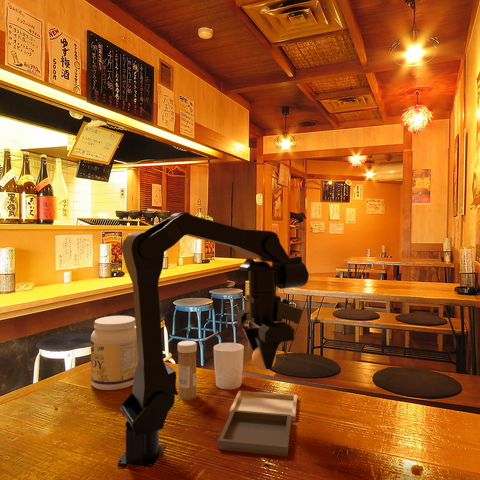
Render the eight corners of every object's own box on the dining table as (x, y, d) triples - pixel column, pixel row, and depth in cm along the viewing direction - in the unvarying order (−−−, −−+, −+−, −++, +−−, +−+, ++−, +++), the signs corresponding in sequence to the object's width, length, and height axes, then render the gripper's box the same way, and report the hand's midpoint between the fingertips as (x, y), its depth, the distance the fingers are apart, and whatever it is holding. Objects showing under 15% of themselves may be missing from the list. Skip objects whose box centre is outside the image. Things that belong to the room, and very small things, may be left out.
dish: (287, 459, 67) (287, 447, 67) (218, 452, 69) (218, 440, 69) (291, 425, 79) (291, 414, 79) (232, 420, 81) (232, 409, 81)
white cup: (245, 379, 104) (244, 343, 104) (242, 391, 96) (242, 351, 96) (216, 378, 105) (216, 342, 105) (211, 390, 97) (211, 350, 97)
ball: (274, 374, 78) (274, 350, 78) (250, 373, 79) (249, 348, 79) (277, 366, 83) (277, 343, 83) (254, 364, 84) (254, 342, 84)
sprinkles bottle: (200, 398, 92) (200, 342, 92) (185, 404, 89) (184, 346, 89) (189, 392, 96) (189, 338, 95) (174, 398, 92) (173, 342, 92)
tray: (295, 423, 80) (295, 416, 80) (229, 418, 82) (229, 411, 82) (297, 401, 91) (297, 394, 91) (238, 396, 93) (238, 390, 93)
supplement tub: (81, 384, 101) (81, 320, 101) (120, 371, 111) (120, 313, 111) (108, 396, 94) (108, 327, 94) (148, 381, 103) (148, 318, 103)
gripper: (319, 295, 74) (320, 375, 75) (279, 283, 92) (280, 348, 92) (265, 299, 71) (266, 383, 71) (235, 286, 89) (236, 353, 89)
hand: (263, 364), depth 81 cm, fingers closed on ball, 5 cm apart
